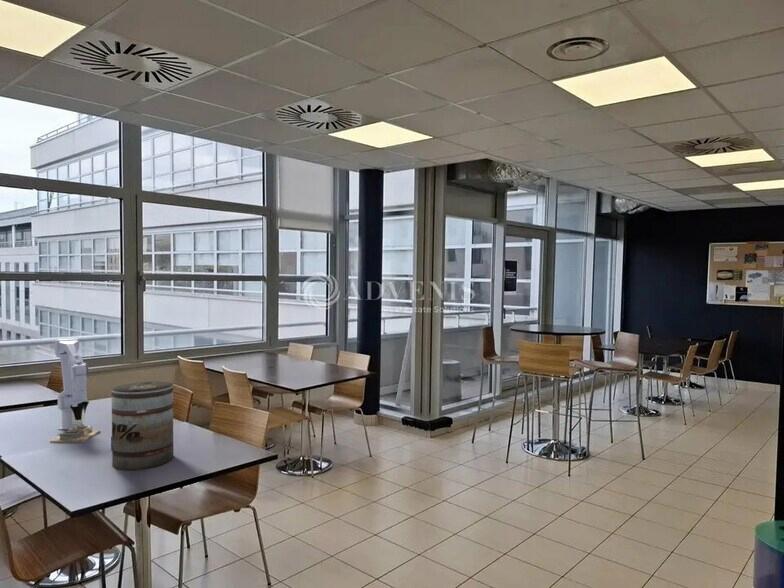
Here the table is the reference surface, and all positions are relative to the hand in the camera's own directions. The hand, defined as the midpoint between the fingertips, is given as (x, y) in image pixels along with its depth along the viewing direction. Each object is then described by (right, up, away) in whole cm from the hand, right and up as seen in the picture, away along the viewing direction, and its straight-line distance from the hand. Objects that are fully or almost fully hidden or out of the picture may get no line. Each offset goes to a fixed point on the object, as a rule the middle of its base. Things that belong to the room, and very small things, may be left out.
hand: (79, 418), depth 252 cm
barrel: (+46, -9, -35) cm, 58 cm away
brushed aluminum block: (0, -2, 0) cm, 2 cm away
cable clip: (+28, -9, -16) cm, 34 cm away
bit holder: (0, -8, -3) cm, 9 cm away
